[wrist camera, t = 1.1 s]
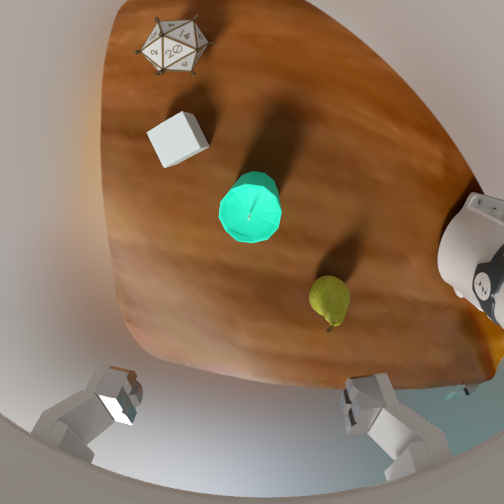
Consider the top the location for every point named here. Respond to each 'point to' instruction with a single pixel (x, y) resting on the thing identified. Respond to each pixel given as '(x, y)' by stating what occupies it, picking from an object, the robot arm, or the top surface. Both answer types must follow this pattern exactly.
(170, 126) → the grey block
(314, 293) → the fruit
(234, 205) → the candle
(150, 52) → the game die
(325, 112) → the top surface
